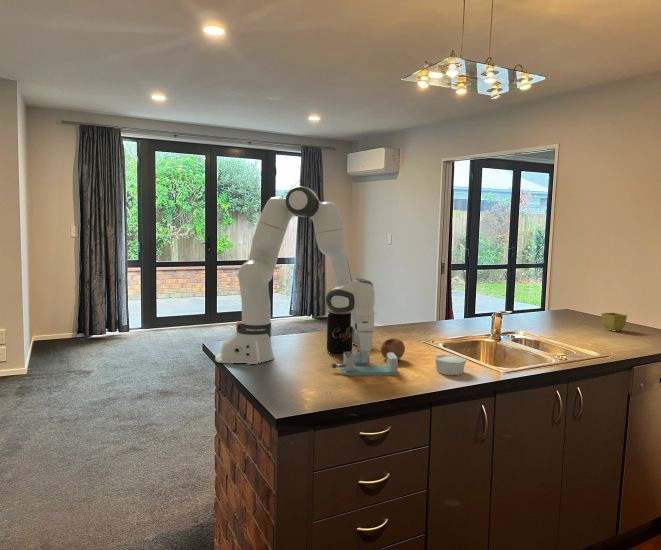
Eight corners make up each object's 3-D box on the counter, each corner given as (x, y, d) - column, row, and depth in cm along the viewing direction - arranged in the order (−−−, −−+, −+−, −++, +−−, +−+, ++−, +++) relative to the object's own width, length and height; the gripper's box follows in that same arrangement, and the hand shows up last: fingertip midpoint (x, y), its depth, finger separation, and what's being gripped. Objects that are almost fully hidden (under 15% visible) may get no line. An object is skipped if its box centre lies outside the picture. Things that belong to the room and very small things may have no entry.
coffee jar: (330, 355, 198) (331, 312, 196) (323, 349, 208) (324, 307, 206) (355, 354, 201) (356, 311, 199) (347, 348, 211) (348, 306, 209)
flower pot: (599, 329, 265) (600, 312, 264) (612, 328, 267) (613, 312, 266) (613, 332, 256) (614, 315, 256) (626, 332, 259) (627, 315, 258)
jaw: (332, 371, 172) (332, 357, 172) (330, 365, 180) (331, 351, 179) (354, 371, 173) (354, 357, 172) (351, 365, 181) (352, 351, 180)
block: (353, 367, 183) (353, 354, 182) (351, 364, 187) (352, 351, 186) (369, 367, 183) (369, 354, 183) (367, 364, 187) (367, 351, 187)
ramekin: (442, 366, 188) (443, 352, 187) (470, 372, 181) (471, 358, 180) (428, 372, 179) (429, 358, 179) (457, 379, 172) (458, 364, 172)
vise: (342, 375, 173) (343, 358, 172) (340, 368, 180) (341, 352, 180) (398, 375, 174) (399, 358, 174) (393, 368, 182) (394, 352, 182)
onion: (388, 369, 191) (383, 349, 187) (380, 357, 200) (374, 337, 195) (410, 360, 192) (405, 340, 188) (401, 348, 201) (396, 328, 196)
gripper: (350, 316, 194) (350, 351, 195) (358, 327, 173) (357, 365, 175) (366, 316, 194) (365, 350, 196) (375, 327, 174) (374, 365, 175)
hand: (361, 358), depth 185 cm, fingers open, 8 cm apart
